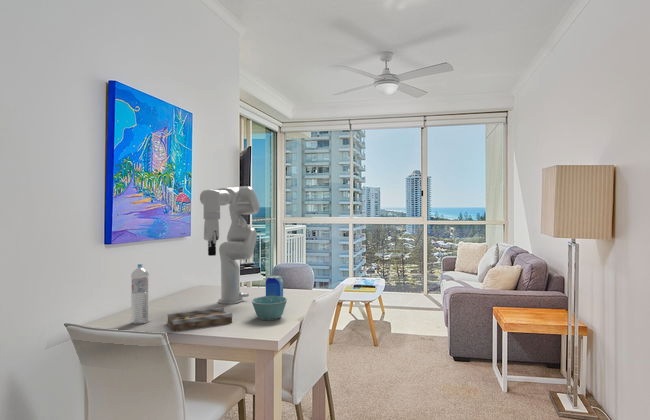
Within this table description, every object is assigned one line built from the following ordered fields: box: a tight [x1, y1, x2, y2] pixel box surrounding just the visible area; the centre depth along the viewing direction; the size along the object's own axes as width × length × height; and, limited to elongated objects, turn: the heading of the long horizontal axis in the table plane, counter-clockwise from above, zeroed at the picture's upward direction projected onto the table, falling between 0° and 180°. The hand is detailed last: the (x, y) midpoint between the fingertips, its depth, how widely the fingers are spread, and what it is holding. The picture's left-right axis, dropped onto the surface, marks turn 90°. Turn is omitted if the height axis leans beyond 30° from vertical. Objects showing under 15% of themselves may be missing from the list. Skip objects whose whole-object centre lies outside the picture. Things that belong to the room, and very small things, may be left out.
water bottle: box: [130, 263, 150, 325], centre depth 180 cm, size 7×7×25 cm
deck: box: [167, 306, 233, 332], centre depth 179 cm, size 24×13×4 cm, turn 120°
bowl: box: [251, 295, 288, 321], centre depth 187 cm, size 16×16×8 cm
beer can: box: [265, 275, 284, 297], centre depth 203 cm, size 8×8×16 cm
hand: (212, 255), depth 195 cm, fingers closed
